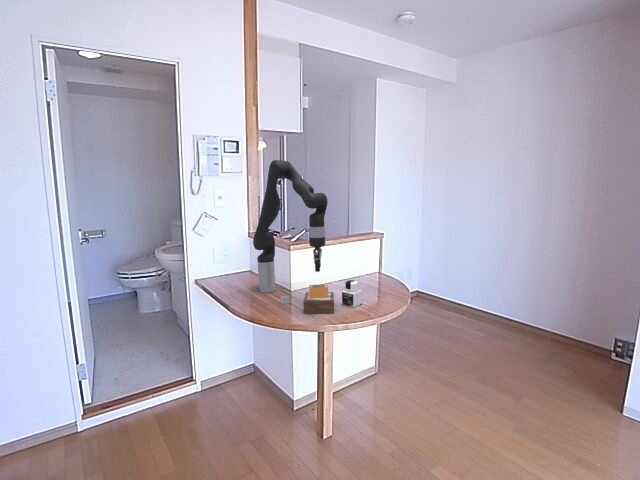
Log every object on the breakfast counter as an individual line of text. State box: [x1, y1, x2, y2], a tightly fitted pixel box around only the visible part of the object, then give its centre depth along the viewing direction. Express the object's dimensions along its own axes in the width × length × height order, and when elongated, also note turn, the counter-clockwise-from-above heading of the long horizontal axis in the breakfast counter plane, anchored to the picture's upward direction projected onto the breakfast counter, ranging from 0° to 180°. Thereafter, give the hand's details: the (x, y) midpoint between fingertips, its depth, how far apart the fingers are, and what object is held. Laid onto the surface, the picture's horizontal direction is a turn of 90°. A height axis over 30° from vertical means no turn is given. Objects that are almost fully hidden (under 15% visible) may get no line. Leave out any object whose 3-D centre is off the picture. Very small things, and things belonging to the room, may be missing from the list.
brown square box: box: [303, 291, 335, 315], centre depth 181 cm, size 14×14×6 cm
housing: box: [308, 283, 329, 298], centre depth 180 cm, size 9×5×5 cm, turn 91°
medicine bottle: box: [341, 279, 363, 308], centre depth 185 cm, size 7×7×12 cm
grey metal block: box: [280, 295, 291, 305], centre depth 192 cm, size 4×4×3 cm
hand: (318, 269), depth 179 cm, fingers open, 8 cm apart
